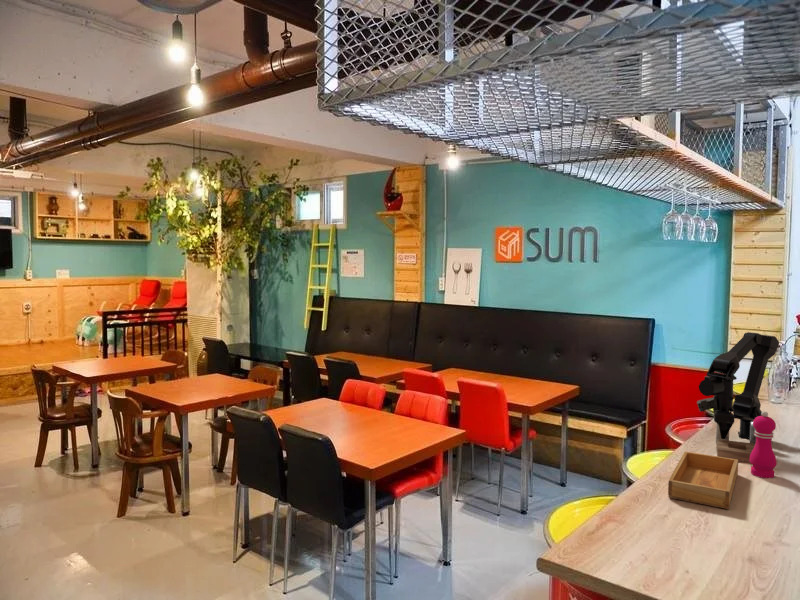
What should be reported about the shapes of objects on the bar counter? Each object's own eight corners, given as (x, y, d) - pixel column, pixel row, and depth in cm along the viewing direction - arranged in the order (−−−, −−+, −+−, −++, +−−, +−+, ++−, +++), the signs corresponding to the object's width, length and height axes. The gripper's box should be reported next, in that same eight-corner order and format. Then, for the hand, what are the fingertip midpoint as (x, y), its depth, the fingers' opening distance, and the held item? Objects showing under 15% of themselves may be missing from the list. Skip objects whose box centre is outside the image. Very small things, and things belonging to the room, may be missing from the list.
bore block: (716, 447, 208) (716, 439, 208) (755, 452, 203) (756, 443, 203) (717, 458, 198) (717, 449, 197) (759, 463, 192) (759, 454, 192)
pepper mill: (768, 470, 186) (771, 408, 184) (781, 479, 179) (783, 414, 177) (744, 470, 186) (746, 408, 185) (756, 478, 179) (758, 414, 178)
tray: (684, 466, 191) (684, 449, 191) (737, 476, 183) (738, 458, 182) (667, 500, 166) (668, 480, 165) (729, 512, 157) (729, 491, 157)
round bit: (749, 444, 211) (749, 420, 210) (762, 446, 209) (763, 421, 208) (749, 448, 207) (750, 423, 207) (763, 449, 205) (764, 424, 205)
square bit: (715, 441, 215) (716, 416, 215) (728, 442, 214) (729, 418, 213) (716, 444, 212) (716, 419, 211) (728, 445, 210) (729, 421, 209)
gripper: (698, 385, 223) (697, 425, 225) (698, 396, 207) (697, 439, 208) (732, 388, 218) (731, 429, 219) (735, 399, 202) (733, 443, 203)
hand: (722, 435), depth 213 cm, fingers open, 9 cm apart
